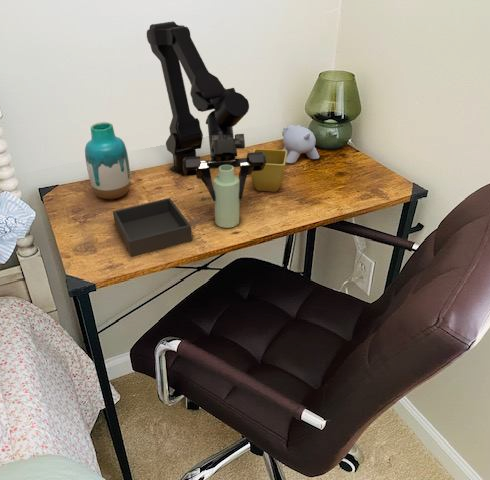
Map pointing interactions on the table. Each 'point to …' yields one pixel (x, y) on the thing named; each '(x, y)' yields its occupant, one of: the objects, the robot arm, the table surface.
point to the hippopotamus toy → (298, 143)
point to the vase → (107, 162)
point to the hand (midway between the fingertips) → (227, 200)
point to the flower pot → (270, 170)
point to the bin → (152, 226)
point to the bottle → (226, 197)
